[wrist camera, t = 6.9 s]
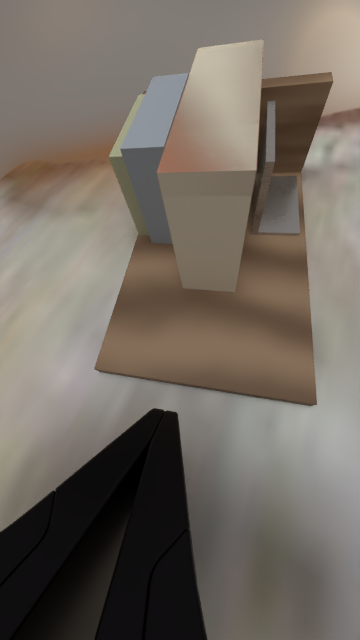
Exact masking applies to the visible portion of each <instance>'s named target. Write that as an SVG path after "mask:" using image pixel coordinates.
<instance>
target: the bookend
mask: <svg viewBox="0 0 360 640" xmlns="http://www.w3.org/2000/svg"><path fill="white" fill-rule="evenodd" d="M274 164H275V101H268V102H267V108H266V114H265V120H264V125H263V131H262V137H261V143H260V149H259V155H258V161H257V171H256V177H255V182H254V192H253V209H252V225H251V235H287V236H299V234H300V225H299V207H298V189H297V176H272V172H273V168H274Z"/></svg>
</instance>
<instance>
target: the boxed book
mask: <svg viewBox="0 0 360 640" xmlns="http://www.w3.org/2000/svg"><path fill="white" fill-rule="evenodd" d="M263 47H264V40H256V41H249V42H241V43H234V44H226V45H219V46H212V47H204V48H198V50H197V53H196V56H195V59H194V62H193V65H192V68H191V71H190V74H189V77H188V80H187V83H186V86H185V89H184V92H183V95H182V98H181V101H180V104H179V107H178V110H177V113H176V116H175V119H174V122H173V125H172V128H171V131H170V134H169V137H168V140H167V143H166V146H165V149H164V152H163V155H162V158H161V161H160V164H159V167H158V170H157V177H158V182H159V186H160V191H161V195H162V198H163V202H164V207H165V211H166V216H167V220H168V225H169V229H170V234H171V238H172V243H173V247H174V252H175V256H176V260H177V265H178V269H179V274H180V278H181V283H182V287H183V288H186V289H199V290H212V291H225V292H235V290H236V284H237V278H238V273H239V267H240V261H241V255H242V249H243V244H244V238H245V232H246V226H247V220H248V215H249V209H250V203H251V197H252V194H253V188H254V182H255V177H256V171H257V155H258V137H259V119H260V101H261V83H262V65H263V64H262V63H263Z"/></svg>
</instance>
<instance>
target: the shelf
mask: <svg viewBox="0 0 360 640" xmlns="http://www.w3.org/2000/svg"><path fill="white" fill-rule="evenodd" d="M332 83H333V78H332V73H331V72H329V73H319V74H310V75H301V76H300V75H299V76H290V77H280V78H270V79H262V83H261V101H260V119H259V137H258V155H259V149H260V143H261V137H262V131H263V125H264V120H265V114H266V108H267V102H268V101H275V164H274V168H273V172H272V176H297V189H298V207H299V225H300V234H299V236H287V235H251V225H252V209H253V194H252V197H251V203H250V209H249V215H248V220H247V226H246V232H245V238H244V244H243V249H242V255H241V261H240V267H239V273H238V278H237V284H236V290H235V292H225V291H212V290H199V289H186V288H183V287H182V283H181V278H180V274H179V269H178V265H177V260H176V256H175V252H174V247H173V244H160V243H152V242H151V239H150V236H148V235H139V234H138V237H137V240H136V243H135V246H134V249H133V252H132V255H131V258H130V261H129V264H128V267H127V270H126V273H125V277H124V280H123V283H122V286H121V289H120V292H119V295H118V298H117V301H116V304H115V307H114V310H113V313H112V316H111V319H110V322H109V325H108V329H107V332H106V335H105V338H104V341H103V344H102V347H101V350H100V353H99V356H98V359H97V362H96V365H95V368H94V369H95V370H97V371H100V372H105V373H111V374H117V375H124V376H130V377H136V378H142V379H148V380H155V381H161V382H167V383H173V384H179V385H185V386H192V387H198V388H204V389H210V390H216V391H222V392H229V393H235V394H241V395H247V396H253V397H260V398H266V399H272V400H278V401H284V402H290V403H297V404H303V405H309V406H312V405H317V400H316V385H315V371H314V356H313V341H312V326H311V312H310V297H309V282H308V267H307V253H306V238H305V223H304V208H303V194H302V179H301V171H302V168H303V165H304V163H305V160H306V157H307V154H308V151H309V148H310V146H311V143H312V140H313V137H314V134H315V131H316V129H317V126H318V123H319V120H320V117H321V114H322V112H323V109H324V106H325V103H326V100H327V98H328V94H329V92H330V89H331V86H332ZM146 92H147V91H144V93H143V94H146ZM258 155H257V161H258ZM253 192H254V188H253Z"/></svg>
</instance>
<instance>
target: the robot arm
mask: <svg viewBox="0 0 360 640" xmlns="http://www.w3.org/2000/svg"><path fill="white" fill-rule="evenodd" d="M0 640H207V635H206V630H205V624H204V619H203V613H202V608H201V602H200V597H199V592H198V586H197V578H196V571H195V564H194V556H193V548H192V539H191V531H190V522H189V513H188V504H187V495H186V485H185V476H184V467H183V458H182V449H181V440H180V430H179V421H178V414H177V413H176V412H172V411H164V410H161V409H156V408H154V409H152V410H150V411H149V412H148V413H147V414H146V415H144V416H143V417H142V418H141V419H139V420H138V421H137V422H136V423H135V424H133V425H132V426H131V427H130V428H129V429H127V430H126V431H125V432H124V433H122V434H121V435H120V436H119V437H118V438H116V439H115V440H114V441H113V442H112V443H110V444H109V445H108V446H107V447H105V448H104V449H103V450H102V451H101V452H99V453H98V454H97V455H96V456H95V457H93V458H92V459H91V460H90V461H89V462H87V463H86V464H85V465H84V466H82V467H81V468H80V469H79V470H78V471H76V472H75V473H74V474H73V475H72V476H70V477H69V478H68V479H67V480H65V481H64V482H63V483H62V484H61V485H59V486H58V487H57V488H56V491H52V492H51V493H49V494H48V495H47V496H46V497H45V498H43V499H42V500H41V501H40V502H39V503H37V504H36V505H35V506H34V507H32V508H31V509H30V510H28V511H27V512H26V513H25V514H23V515H22V516H21V517H20V518H18V519H17V520H16V521H15V522H13V523H12V524H11V525H9V526H8V527H7V528H5V529H4V530H3V531H1V532H0Z"/></svg>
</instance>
